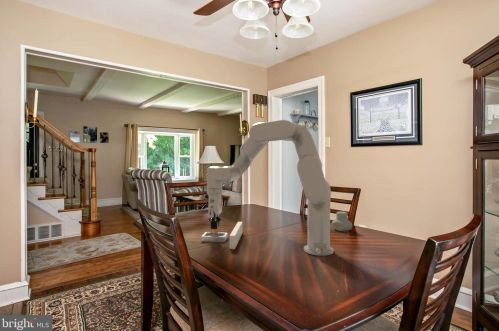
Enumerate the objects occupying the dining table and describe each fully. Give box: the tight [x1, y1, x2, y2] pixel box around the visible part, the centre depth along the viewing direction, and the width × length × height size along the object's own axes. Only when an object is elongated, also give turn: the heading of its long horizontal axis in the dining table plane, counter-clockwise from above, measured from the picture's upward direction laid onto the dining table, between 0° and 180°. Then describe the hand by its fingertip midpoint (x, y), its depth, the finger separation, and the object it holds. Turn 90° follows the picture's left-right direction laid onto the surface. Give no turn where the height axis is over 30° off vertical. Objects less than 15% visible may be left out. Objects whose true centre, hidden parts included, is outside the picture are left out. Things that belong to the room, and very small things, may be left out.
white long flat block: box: [229, 221, 243, 250], centre depth 135 cm, size 26×2×6 cm, turn 174°
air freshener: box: [331, 211, 353, 232], centre depth 153 cm, size 11×8×10 cm
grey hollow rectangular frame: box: [200, 231, 229, 243], centre depth 136 cm, size 8×12×2 cm, turn 84°
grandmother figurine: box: [207, 214, 223, 235], centre depth 136 cm, size 8×4×13 cm, turn 83°
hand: (214, 227), depth 136 cm, fingers closed on grandmother figurine, 3 cm apart
